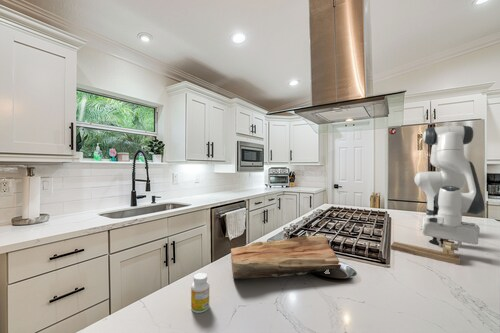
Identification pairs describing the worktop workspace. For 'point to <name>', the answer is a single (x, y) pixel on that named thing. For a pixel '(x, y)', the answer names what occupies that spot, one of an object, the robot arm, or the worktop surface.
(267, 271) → the log
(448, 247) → the beige mallet
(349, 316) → the worktop surface
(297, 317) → the worktop surface
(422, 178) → the robot arm
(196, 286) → the supplement bottle
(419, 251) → the board
